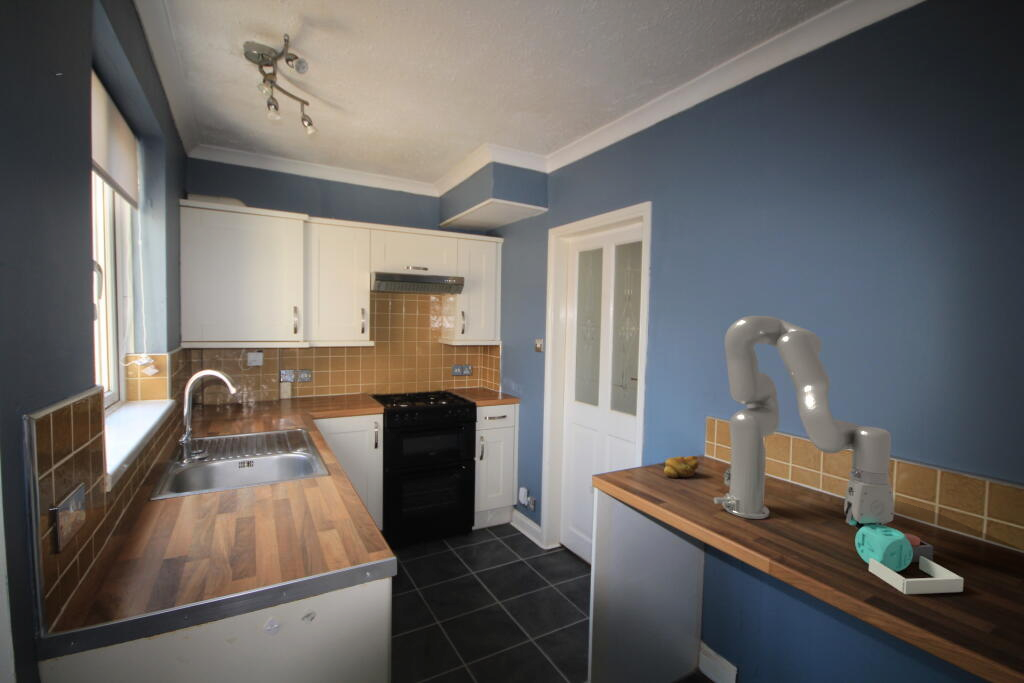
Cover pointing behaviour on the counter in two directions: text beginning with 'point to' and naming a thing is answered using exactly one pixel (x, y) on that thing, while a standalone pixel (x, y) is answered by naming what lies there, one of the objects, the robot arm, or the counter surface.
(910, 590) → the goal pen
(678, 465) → the bread roll
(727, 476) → the egg carton
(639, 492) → the counter surface
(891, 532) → the decorative dice
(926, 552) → the button collar
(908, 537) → the button
